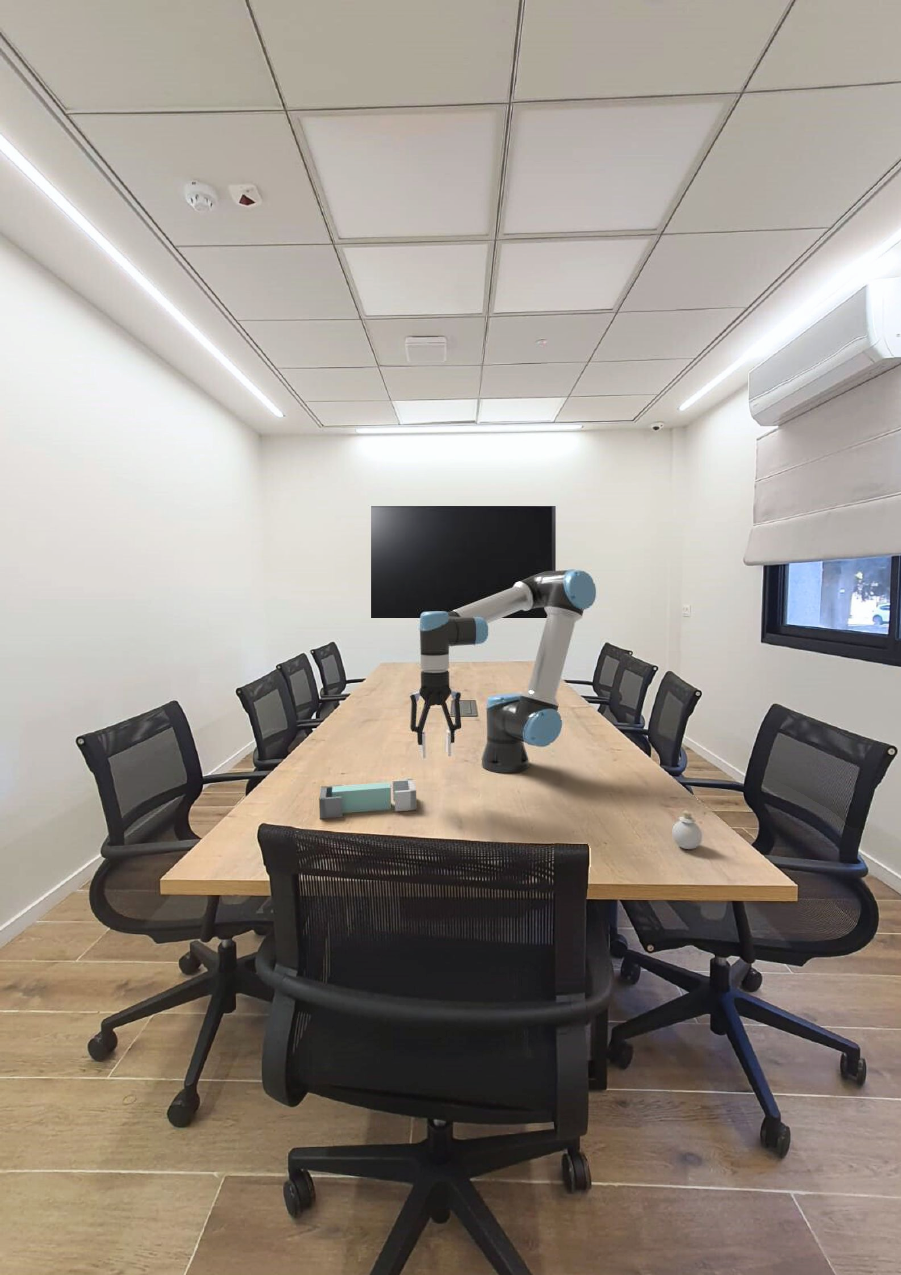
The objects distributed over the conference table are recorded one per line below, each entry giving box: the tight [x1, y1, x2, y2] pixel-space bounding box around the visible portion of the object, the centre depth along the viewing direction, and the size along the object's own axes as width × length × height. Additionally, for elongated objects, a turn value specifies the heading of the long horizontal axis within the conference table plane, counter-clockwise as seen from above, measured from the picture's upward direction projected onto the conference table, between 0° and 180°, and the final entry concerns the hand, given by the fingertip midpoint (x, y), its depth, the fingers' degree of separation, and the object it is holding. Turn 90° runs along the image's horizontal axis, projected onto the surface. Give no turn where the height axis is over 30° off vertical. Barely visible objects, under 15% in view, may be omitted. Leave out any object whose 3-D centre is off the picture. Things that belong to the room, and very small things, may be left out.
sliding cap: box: [392, 778, 418, 812], centre depth 144 cm, size 6×9×5 cm, turn 10°
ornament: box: [671, 804, 708, 850], centre depth 119 cm, size 6×7×10 cm
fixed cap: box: [318, 784, 343, 819], centre depth 141 cm, size 6×9×5 cm, turn 10°
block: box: [332, 781, 392, 814], centre depth 142 cm, size 15×4×6 cm, turn 101°
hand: (436, 755), depth 144 cm, fingers open, 6 cm apart
